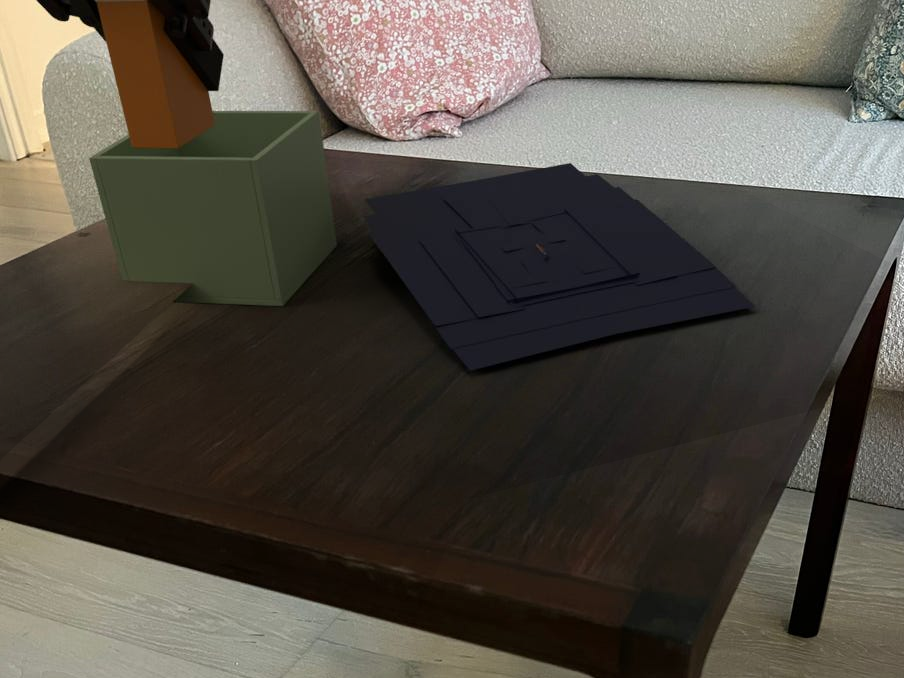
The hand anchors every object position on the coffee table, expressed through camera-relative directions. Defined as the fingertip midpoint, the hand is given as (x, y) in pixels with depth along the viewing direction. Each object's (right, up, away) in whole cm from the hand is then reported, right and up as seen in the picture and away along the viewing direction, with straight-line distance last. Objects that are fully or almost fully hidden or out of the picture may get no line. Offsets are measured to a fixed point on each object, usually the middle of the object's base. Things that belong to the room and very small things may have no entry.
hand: (187, 72), depth 74 cm
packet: (-1, -5, -1) cm, 5 cm away
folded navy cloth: (+25, -9, +15) cm, 31 cm away
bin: (-1, -7, +20) cm, 21 cm away
